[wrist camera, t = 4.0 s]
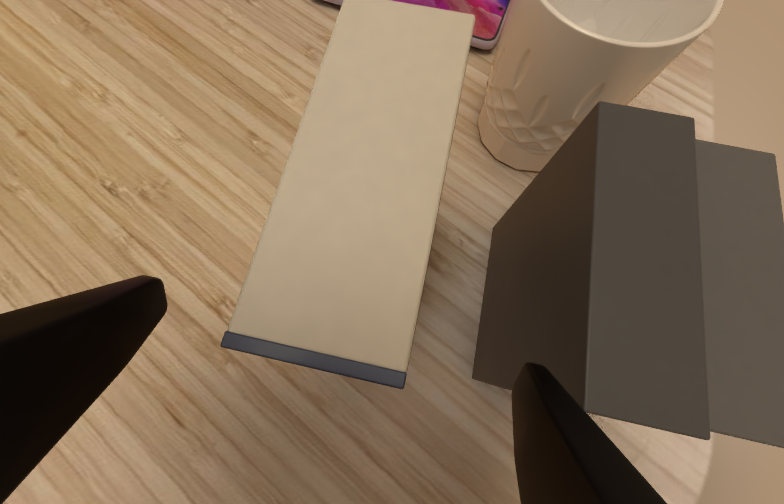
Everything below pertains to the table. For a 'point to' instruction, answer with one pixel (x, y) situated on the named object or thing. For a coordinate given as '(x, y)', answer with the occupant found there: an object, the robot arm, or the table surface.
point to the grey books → (645, 279)
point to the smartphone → (484, 3)
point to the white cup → (577, 66)
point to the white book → (359, 197)
